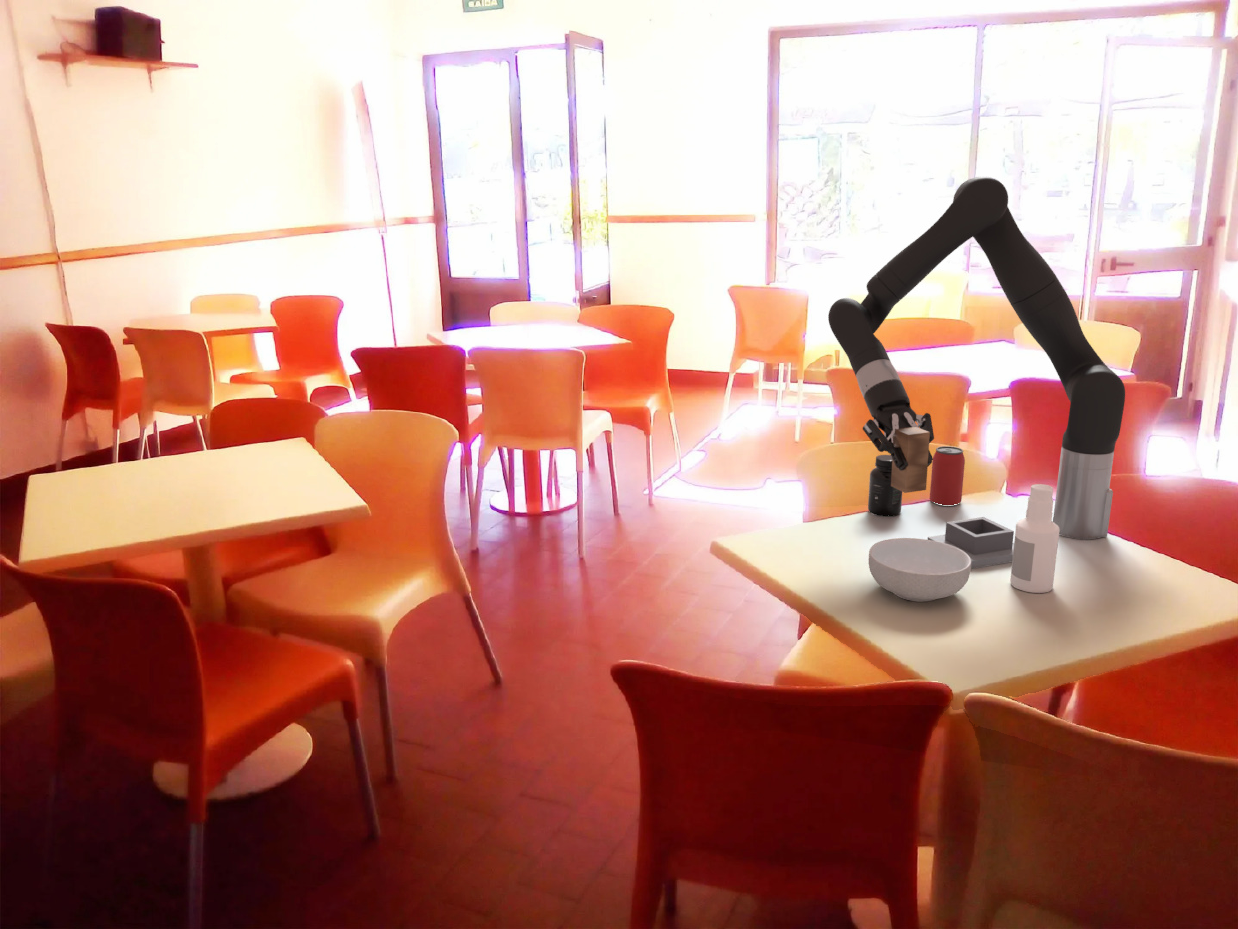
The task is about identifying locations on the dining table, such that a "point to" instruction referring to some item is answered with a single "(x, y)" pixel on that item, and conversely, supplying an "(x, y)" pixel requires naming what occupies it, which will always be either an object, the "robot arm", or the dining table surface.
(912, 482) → the walnut peg
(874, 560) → the cereal bowl
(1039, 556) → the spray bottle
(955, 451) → the beer can
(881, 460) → the supplement bottle
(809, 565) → the dining table surface
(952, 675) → the dining table surface
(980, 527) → the socket pad
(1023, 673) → the dining table surface
